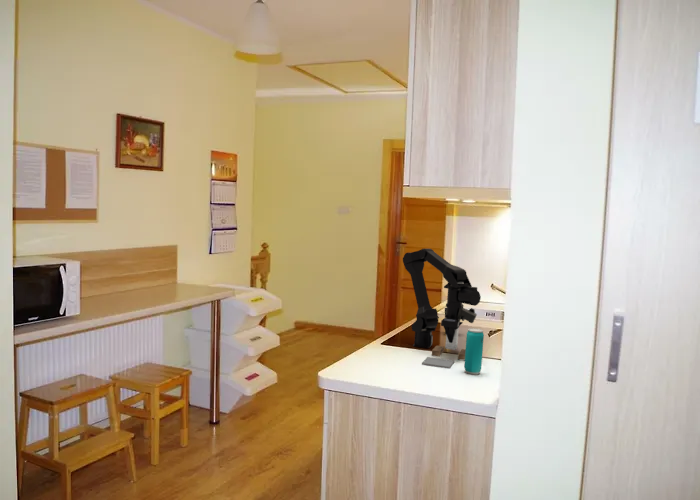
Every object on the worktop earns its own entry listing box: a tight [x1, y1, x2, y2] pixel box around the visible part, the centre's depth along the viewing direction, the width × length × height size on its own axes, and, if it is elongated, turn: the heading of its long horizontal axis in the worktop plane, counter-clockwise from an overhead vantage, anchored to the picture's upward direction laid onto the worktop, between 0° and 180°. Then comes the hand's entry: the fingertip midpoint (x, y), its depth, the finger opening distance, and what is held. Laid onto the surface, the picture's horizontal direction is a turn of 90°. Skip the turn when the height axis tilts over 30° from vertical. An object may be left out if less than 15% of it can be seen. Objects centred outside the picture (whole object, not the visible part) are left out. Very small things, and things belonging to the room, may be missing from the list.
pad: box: [421, 356, 455, 369], centre depth 210 cm, size 10×10×1 cm
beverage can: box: [464, 327, 485, 376], centre depth 199 cm, size 6×6×15 cm
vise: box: [431, 345, 466, 361], centre depth 222 cm, size 18×9×2 cm, turn 71°
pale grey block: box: [444, 327, 460, 351], centre depth 223 cm, size 4×4×8 cm
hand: (451, 341), depth 223 cm, fingers closed on pale grey block, 4 cm apart
